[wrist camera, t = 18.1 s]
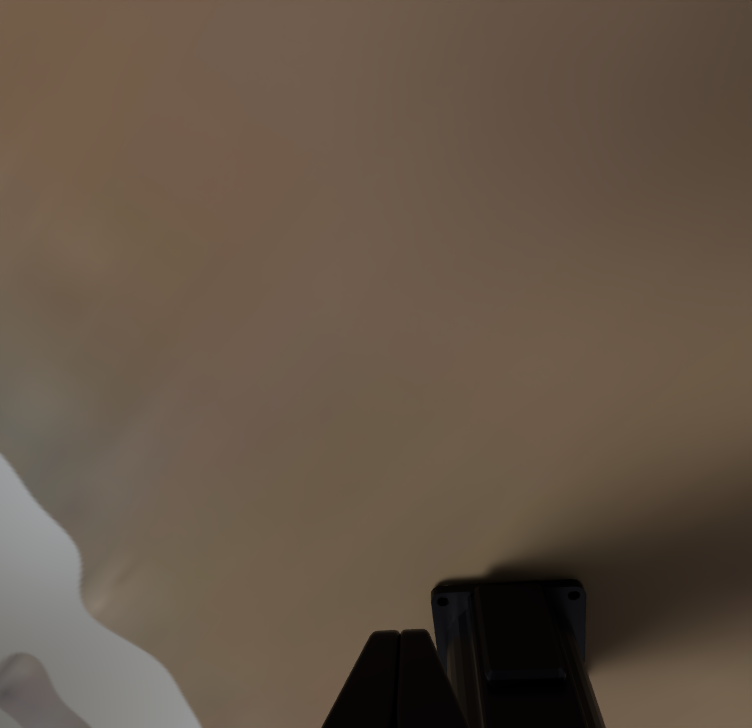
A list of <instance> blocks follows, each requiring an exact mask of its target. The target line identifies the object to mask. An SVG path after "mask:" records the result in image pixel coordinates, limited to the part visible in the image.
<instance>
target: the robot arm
mask: <svg viewBox="0 0 752 728" xmlns="http://www.w3.org/2000/svg"><path fill="white" fill-rule="evenodd" d="M571 591H575V592H572V593H570V592H571ZM441 597H444V599H440V598H441ZM431 605H432V613H433V621H434V629H435V637H436V645H437V650H436V648H435V646H434V643H433V641H432V639H431V636H430V634H429V632H428V631H427V630H425V629H408V630H403V631H402V632H401V634H400V633H399V632H398V631H396V630H385V631H375V632H373V633H372V634H371V635H370V637H369V639H368V641H367V643H366V645H365V646H364V648H363V650H362V652H361V654H360V656H359V658H358V660H357V661H356V663H355V665H354V667H353V669H352V671H351V673H350V675H349V677H348V678H347V680H346V682H345V684H344V686H343V688H342V690H341V692H340V694H339V695H338V697H337V699H336V701H335V703H334V705H333V707H332V709H331V710H330V712H329V714H328V716H327V718H326V720H325V722H324V724H323V726H322V727H321V728H606V727H605V724H604V721H603V718H602V715H601V712H600V709H599V706H598V703H597V700H596V697H595V694H594V691H593V688H592V685H591V682H590V679H589V676H588V673H587V670H586V667H585V622H586V592H585V590H584V587H583V584H582V583H581V582H580V581H578V580H574V579H566V580H546V581H526V582H507V583H487V584H467V585H448V586H438V587H436V588H434V589H433V590H432V592H431Z"/></svg>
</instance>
